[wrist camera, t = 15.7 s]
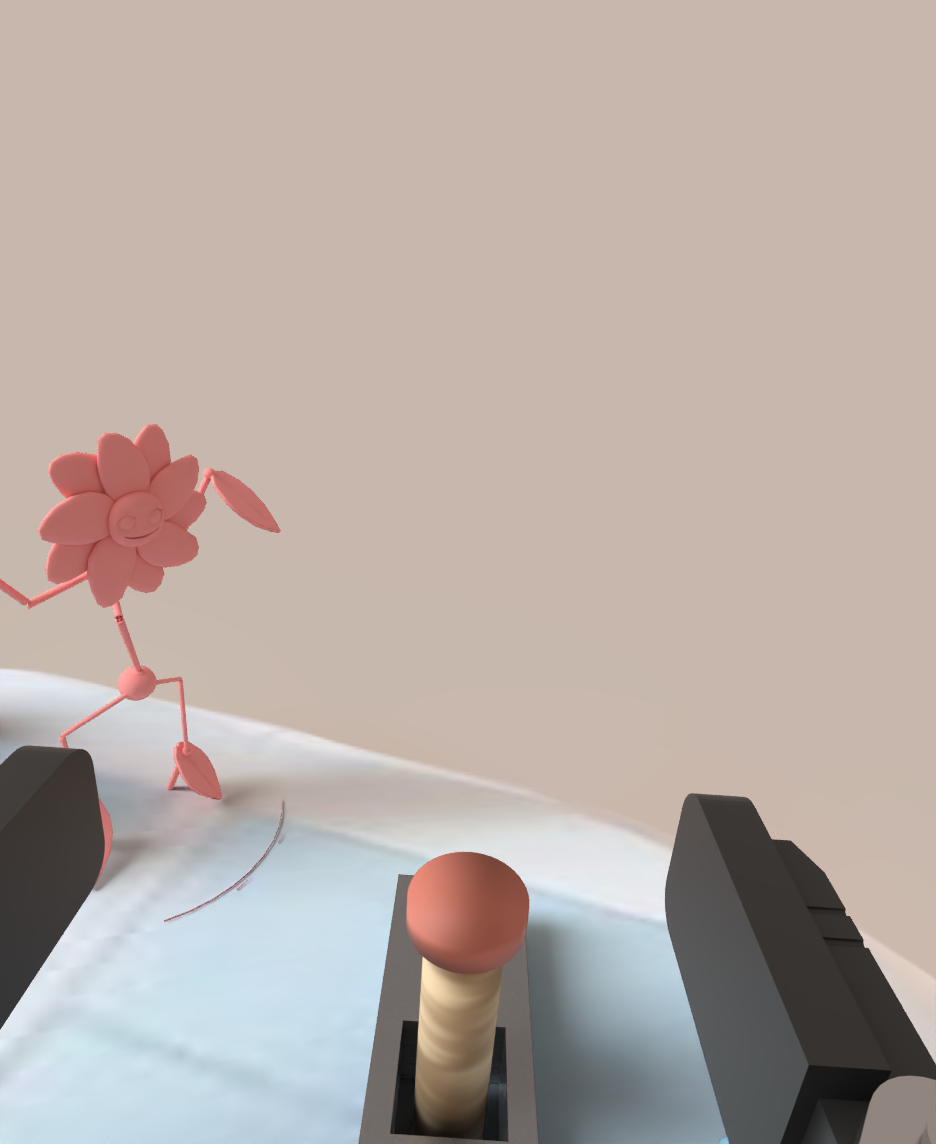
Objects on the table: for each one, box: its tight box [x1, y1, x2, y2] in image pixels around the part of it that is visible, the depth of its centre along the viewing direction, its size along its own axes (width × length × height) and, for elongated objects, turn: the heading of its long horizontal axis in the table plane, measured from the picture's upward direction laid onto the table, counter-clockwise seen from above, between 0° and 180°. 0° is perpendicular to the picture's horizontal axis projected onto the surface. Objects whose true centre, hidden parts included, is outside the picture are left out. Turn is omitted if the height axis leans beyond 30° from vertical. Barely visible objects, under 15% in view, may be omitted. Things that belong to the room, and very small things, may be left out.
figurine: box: [0, 424, 282, 922], centre depth 52 cm, size 15×26×35 cm, turn 146°
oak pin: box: [406, 852, 529, 1140], centre depth 37 cm, size 6×6×18 cm
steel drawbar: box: [359, 874, 538, 1144], centre depth 40 cm, size 9×28×5 cm, turn 178°
